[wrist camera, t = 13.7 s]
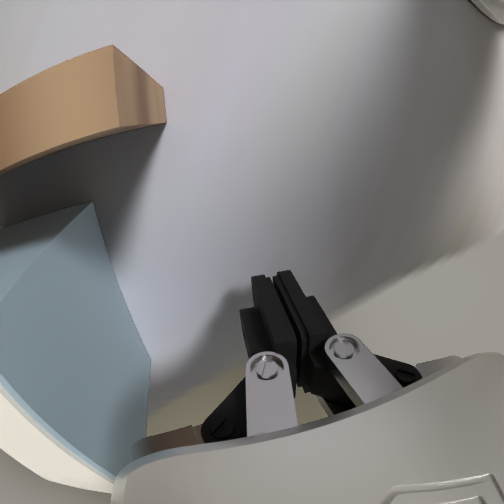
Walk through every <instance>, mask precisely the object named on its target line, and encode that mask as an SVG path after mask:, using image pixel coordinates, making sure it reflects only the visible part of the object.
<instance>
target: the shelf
mask: <svg viewBox="0 0 504 504" xmlns="http://www.w3.org/2000/svg"><path fill="white" fill-rule="evenodd" d="M162 123H167V119H166V110H165V101H164V92H163V87H162V86H160V85H159V84H158V83H157V82H156V81H155V80H154V79H153V78H151V77H150V76H149V75H148V74H147V73H146V72H145V71H143V70H142V69H141V68H140V67H139V66H138V65H137V64H135V63H134V62H133V61H132V60H131V59H129V58H128V57H127V56H126V55H125V54H124V53H122V52H121V51H120V50H119V49H118V48H116V47H115V46H114V45H110V46H106V47H103V48H100V49H97V50H94V51H91V52H88V53H85V54H83V55H80V56H77V57H75V58H72V59H70V60H67V61H65V62H62V63H60V64H58V65H55V66H53V67H51V68H49V69H47V70H44V71H42V72H40V73H38V74H36V75H34V76H32V77H30V78H28V79H26V80H25V81H23V82H21V83H19V84H17V85H15V86H14V87H12V88H10V89H9V90H7V91H5V92H4V93H2V94H0V175H2V174H4V173H6V172H9V171H11V170H13V169H15V168H18V167H20V166H22V165H25V164H27V163H29V162H32V161H34V160H37V159H39V158H42V157H44V156H47V155H50V154H52V153H55V152H58V151H61V150H64V149H67V148H70V147H73V146H76V145H79V144H82V143H85V142H89V141H92V140H95V139H99V138H102V137H106V136H110V135H113V134H117V133H121V132H125V131H129V130H134V129H138V128H143V127H147V126H152V125H157V124H162Z"/></svg>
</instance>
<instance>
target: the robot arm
mask: <svg viewBox="0 0 504 504" xmlns="http://www.w3.org/2000/svg"><path fill="white" fill-rule="evenodd" d="M471 1H472V2H473V3H474V4H475V5H476V6H477V7H478V8H479V9H480V10H481V11H482V12H483V13H484V14H485V15H486V16H488V17H489V18H490V19H492V20H493V21H495V22H496V23H499V24H502V25H503V24H504V0H471ZM251 281H252V291H253V301H254V307H252V308H246V309H241V310H240V318H241V325H242V330H243V336H244V340H245V345H246V349H247V353H248V357H249V360H248V362H247V363H246V368H245V375H246V376H245V378H244V379H243V380H242V381H241V382H240V383H239V384H238V385H237V386H236V388H235V389H234V390H233V391H232V392H231V393H230V394H229V395H228V396H227V397H226V399H225V400H224V401H223V402H222V403H221V404H220V405H219V406H218V407H217V408H216V409H215V410H214V411H213V412H212V414H211V415H210V416H209V417H208V418H207V419H206V420H205V421H204V423H203V424H201V425H198V426H195V427H192V426H191V425H190V426H188V427H184V428H180V429H177V430H174V431H169V432H166V433H162V434H158V435H154V436H150V437H146V438H142V439H140V440H138V441H137V442H136V443H135V444H134V445H133V447H132V449H131V457H132V461H133V462H131V463H129V464H128V465H126V466H125V467H124V468H122V469H121V470H120V471H119V473H118V475H117V476H116V479H115V482H114V485H113V489H112V496H111V504H504V356H503V355H502V354H500V353H497V352H484V353H477V354H474V355H470V356H467V357H465V358H460V357H458V356H448V357H444V358H440V359H436V360H432V361H427V362H423V363H419V364H417V365H416V366H415V367H414V366H412V365H410V364H406V363H403V362H399V361H396V360H392V359H389V358H385V357H382V356H378V355H375V354H373V353H372V352H371V351H370V350H369V349H368V348H367V347H366V346H365V345H364V344H363V343H362V341H361V340H360V339H358V338H357V337H355V336H353V335H350V334H337V333H336V331H335V329H334V328H333V326H332V325H331V323H330V321H329V320H328V318H327V316H326V315H325V313H324V311H323V310H322V308H321V306H320V305H319V303H318V302H317V300H316V298H315V297H314V296H308V297H306V296H305V295H304V293H303V291H302V289H301V288H300V286H299V284H298V283H297V281H296V279H295V277H294V276H293V274H292V272H291V271H290V270H287V271H282V272H277V276H273V283H272V281H271V279H270V277H267V278H266V277H265V275H259V276H253V277H251ZM296 384H297V386H298V387H301V386H302V387H303V389H304V392H305V393H307V392H311V393H312V394H314V395H317V398H318V400H319V402H320V404H321V405H322V407H323V408H324V410H325V411H326V413H327V415H328V416H329V417H326V418H323V419H320V420H317V421H313V422H309V423H306V424H302V425H299V426H298V421H297V415H296V409H295V402H294V398H295V393H296V392H295V390H296Z"/></svg>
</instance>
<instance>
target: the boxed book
mask: <svg viewBox="0 0 504 504" xmlns="http://www.w3.org/2000/svg"><path fill="white" fill-rule="evenodd" d="M150 367H151V358H150V356H149V354H148V352H147V350H146V348H145V346H144V344H143V341H142V339H141V337H140V335H139V333H138V330H137V328H136V326H135V324H134V321H133V319H132V317H131V314H130V312H129V309H128V307H127V304H126V302H125V299H124V297H123V294H122V292H121V289H120V286H119V284H118V281H117V278H116V276H115V273H114V270H113V267H112V264H111V261H110V258H109V255H108V252H107V249H106V246H105V243H104V240H103V236H102V233H101V229H100V226H99V223H98V219H97V215H96V212H95V208H94V204H93V202H89V203H85V204H81V205H77V206H73V207H70V208H66V209H62V210H59V211H55V212H52V213H48V214H45V215H42V216H38V217H35V218H32V219H29V220H26V221H22V222H19V223H16V224H13V225H10V226H7V227H5V228H3V229H2V230H1V231H0V448H1V449H2V450H4V451H5V452H6V453H8V454H9V455H10V456H12V457H13V458H14V459H16V460H17V461H19V462H20V463H21V464H23V465H24V466H26V467H27V468H29V469H30V470H32V471H33V472H35V473H36V474H38V475H40V476H41V477H43V478H45V479H46V480H49V481H53V482H57V483H61V484H64V485H69V486H73V487H78V488H82V489H88V490H93V491H100V492H106V493H112V489H113V485H114V482H115V479H116V476H117V475H118V473H119V471H120V470H121V469H122V468H124V467H125V466H126V465H128V464H129V463H131V462H133V461H132V457H131V449H132V447H133V445H134V444H135V443H136V442H137V441H138V440H140V439H142V438H146V427H147V406H148V391H149V378H150Z"/></svg>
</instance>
